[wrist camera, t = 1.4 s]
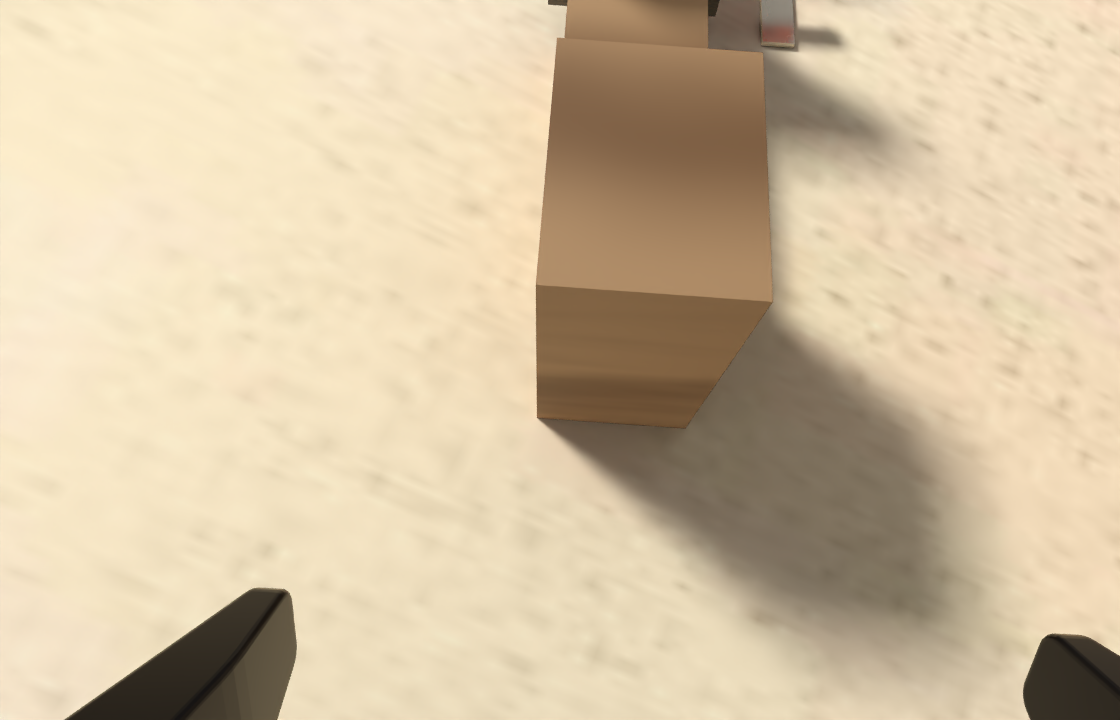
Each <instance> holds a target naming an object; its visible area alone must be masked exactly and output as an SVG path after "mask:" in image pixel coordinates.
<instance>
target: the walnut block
mask: <svg viewBox="0 0 1120 720" xmlns="http://www.w3.org/2000/svg"><path fill="white" fill-rule="evenodd" d="M772 302H773V295H772V269H771V243H770V218H769V192H768V167H767V141H766V116H765V90H764V64H763V53H762V52H748V51H734V50H720V49H708V0H568V2H567V15H566V27H565V38H557V46H556V57H555V69H554V81H553V92H552V104H551V115H550V127H549V139H548V150H547V162H546V173H545V185H544V197H543V208H542V220H541V232H540V243H539V255H538V266H537V278H536V356H537V418H547V419H561V420H575V421H589V422H603V423H618V424H632V425H646V426H660V427H674V428H686V427H687V425H688V424H689V422H690V421H691V419H692V418H693V416H694V415H695V414H696V412H697V411H698V409H699V408H700V406H701V405H702V403H703V402H704V400H705V399H706V398H707V396H708V395H709V393H710V392H711V390H712V389H713V387H714V386H715V385H716V383H717V382H718V380H719V379H720V377H721V376H722V374H723V373H724V372H725V370H726V369H727V367H728V366H729V364H730V363H731V361H732V360H733V359H734V357H735V356H736V354H737V353H738V351H739V350H740V348H741V347H742V346H743V344H744V343H745V341H746V340H747V338H748V337H749V335H750V334H751V333H752V331H753V330H754V328H755V327H756V325H757V324H758V322H759V321H760V319H761V318H762V317H763V315H764V314H765V312H766V311H767V309H768V308H769V306H770V305H771V304H772Z"/></svg>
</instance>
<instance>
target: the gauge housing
mask: <svg viewBox="0 0 1120 720" xmlns="http://www.w3.org/2000/svg"><path fill="white" fill-rule="evenodd" d="M760 24H761V46H775V47H789V48H793V47H794V45H795V35H794V18H793V1H792V0H760Z"/></svg>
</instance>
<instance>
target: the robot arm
mask: <svg viewBox="0 0 1120 720" xmlns="http://www.w3.org/2000/svg"><path fill="white" fill-rule="evenodd" d="M296 650H297V642H296V633H295V623H294V614H293V605H292V598H291V596H290V593H289V592H288V591H286V590H285V589H274V588H253V589H251V590H249V591H247V592H246V593H244V594H243V595H241V596H240V597H239V598H237V599H236V600H234V601H233V602H231V603H230V604H229V605H227V606H226V607H224V608H223V609H221V610H220V611H219V612H217V613H216V614H214V615H213V616H211V617H210V618H209V619H207V620H206V621H204V622H203V623H201V624H200V625H199V626H197V627H196V628H194V629H193V630H191V631H190V632H189V633H187V634H186V635H184V636H183V637H181V638H180V639H179V640H177V641H176V642H174V643H173V644H172V645H170V646H169V647H167V648H166V649H164V650H163V651H162V652H160V653H159V654H157V655H156V656H154V657H153V658H152V659H150V660H149V661H147V662H146V663H144V664H143V665H142V666H140V667H139V668H137V669H136V670H134V671H133V672H132V673H130V674H129V675H127V676H126V677H124V678H123V679H122V680H120V681H119V682H117V683H116V684H115V685H113V686H112V687H110V688H109V689H107V690H106V691H105V692H103V693H102V694H100V695H99V696H97V697H96V698H95V699H93V700H92V701H90V702H89V703H87V704H86V705H85V706H83V707H82V708H80V709H79V710H77V711H76V712H75V713H73V714H72V715H70V716H69V717H67V718H66V719H65V720H277V719H278V716H279V712H280V709H281V706H282V703H283V699H284V696H285V693H286V690H287V686H288V683H289V680H290V677H291V673H292V670H293V667H294V663H295V658H296ZM1023 699H1024V704H1025V707H1026V710H1027V713H1028V715H1029V718H1030V720H1120V656H1119V655H1117V654H1116V653H1114V652H1112V651H1111V650H1109V649H1107V648H1106V647H1104V646H1102V645H1101V644H1099V643H1098V642H1096V641H1094V640H1093V639H1091V638H1089V637H1086V636H1082V635H1071V634H1049V635H1047V636H1046V637H1045V638H1043V639H1042V641H1041V643H1040V645H1039V647H1038V650H1037V652H1036V655H1035V658H1034V660H1033V663H1032V665H1031V668H1030V670H1029V673H1028V675H1027V678H1026V680H1025V683H1024V688H1023Z"/></svg>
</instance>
